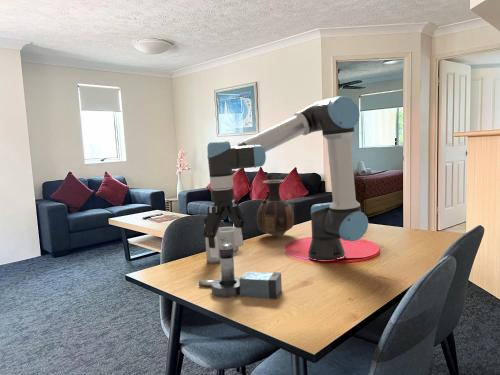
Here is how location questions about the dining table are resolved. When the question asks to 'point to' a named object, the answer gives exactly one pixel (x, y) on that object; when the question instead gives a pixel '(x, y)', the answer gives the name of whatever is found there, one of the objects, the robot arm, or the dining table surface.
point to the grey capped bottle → (227, 264)
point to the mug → (228, 236)
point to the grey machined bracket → (248, 285)
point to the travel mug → (209, 258)
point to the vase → (274, 212)
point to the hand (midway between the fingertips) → (227, 251)
